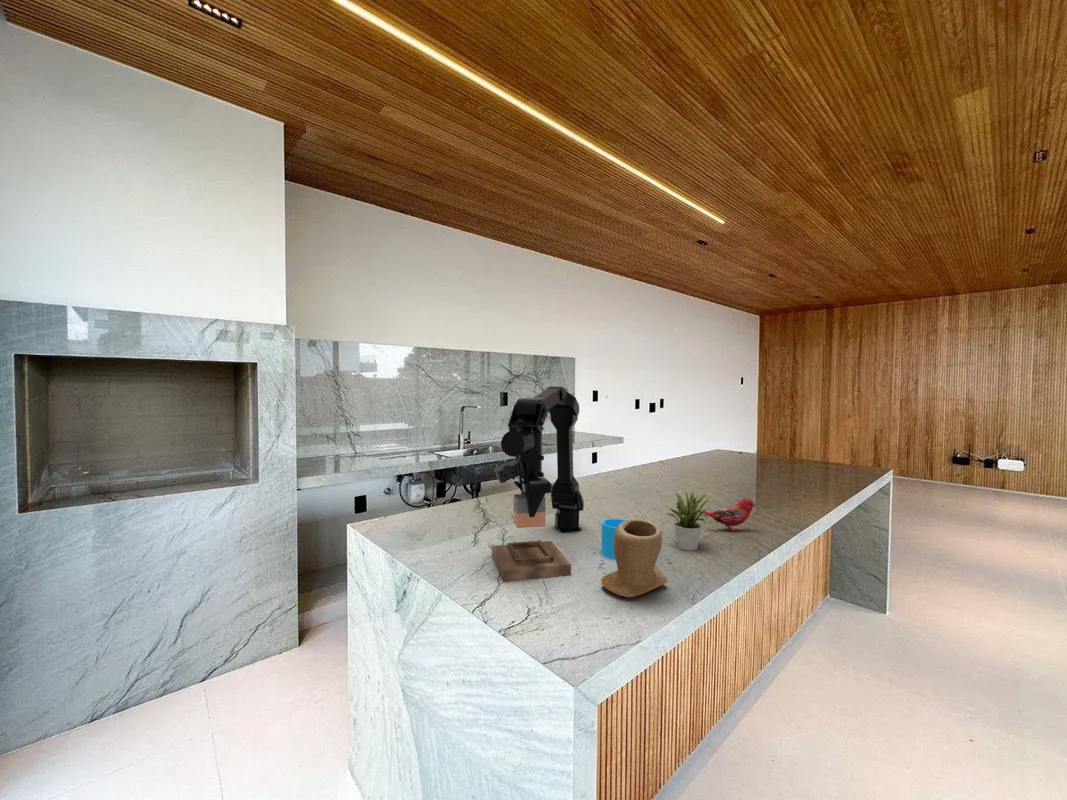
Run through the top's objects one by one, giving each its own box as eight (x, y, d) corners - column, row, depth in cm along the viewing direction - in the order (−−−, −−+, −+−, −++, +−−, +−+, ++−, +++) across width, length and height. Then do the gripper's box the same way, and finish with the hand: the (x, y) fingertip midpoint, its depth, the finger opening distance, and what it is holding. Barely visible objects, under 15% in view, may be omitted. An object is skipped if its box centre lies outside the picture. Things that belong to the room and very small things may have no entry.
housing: (540, 520, 116) (541, 493, 116) (545, 526, 112) (545, 497, 111) (513, 522, 114) (513, 494, 114) (516, 528, 110) (517, 498, 110)
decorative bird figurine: (757, 533, 138) (758, 500, 138) (697, 532, 139) (698, 499, 138) (753, 529, 141) (754, 497, 141) (694, 529, 141) (695, 496, 141)
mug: (613, 562, 115) (614, 530, 115) (595, 551, 123) (595, 520, 122) (651, 554, 121) (652, 523, 120) (631, 544, 128) (632, 515, 128)
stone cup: (633, 609, 92) (635, 535, 91) (593, 587, 101) (594, 519, 101) (682, 590, 100) (684, 522, 100) (641, 571, 110) (642, 509, 109)
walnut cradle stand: (551, 550, 123) (551, 536, 123) (570, 574, 108) (571, 559, 107) (491, 555, 119) (491, 541, 119) (503, 581, 104) (503, 565, 103)
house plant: (728, 547, 126) (730, 488, 125) (708, 562, 116) (709, 497, 115) (679, 535, 136) (680, 480, 135) (656, 547, 126) (657, 488, 125)
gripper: (491, 446, 119) (491, 505, 120) (503, 457, 101) (503, 528, 102) (533, 445, 122) (532, 503, 123) (552, 456, 104) (552, 525, 104)
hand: (529, 514), depth 113 cm, fingers closed on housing, 4 cm apart
